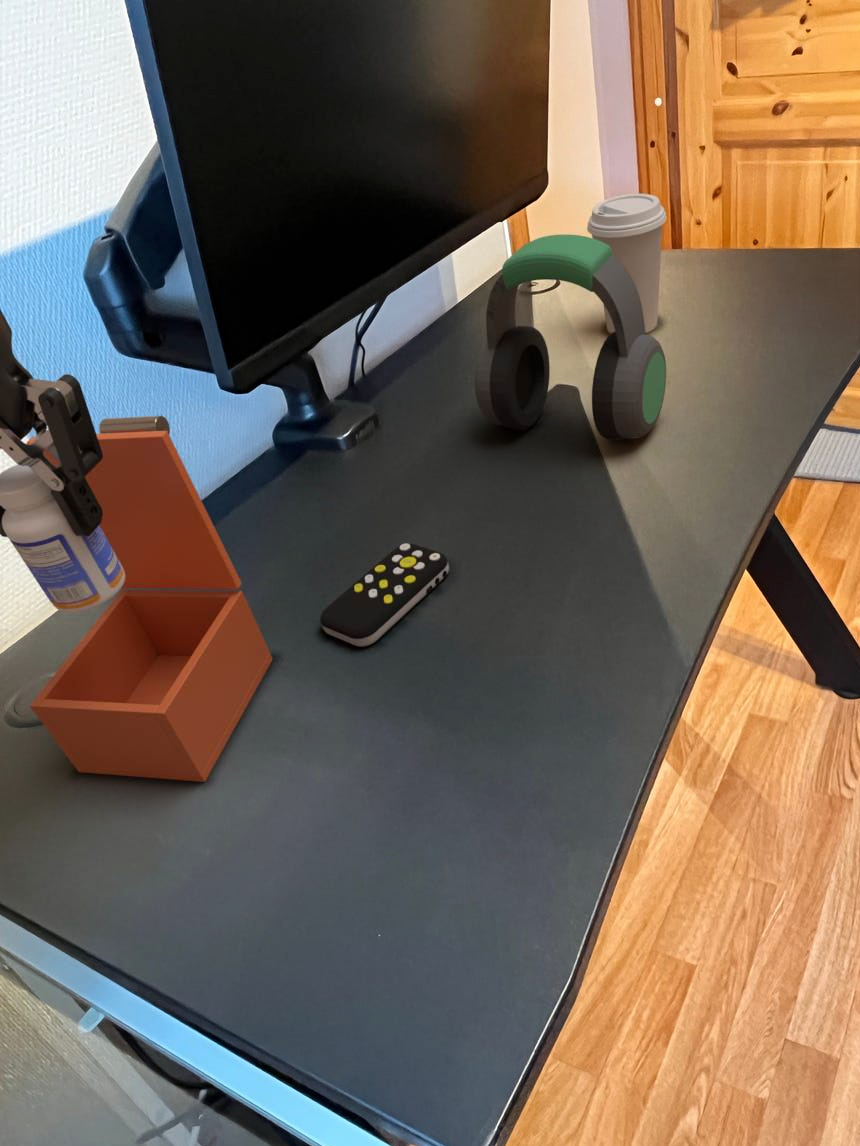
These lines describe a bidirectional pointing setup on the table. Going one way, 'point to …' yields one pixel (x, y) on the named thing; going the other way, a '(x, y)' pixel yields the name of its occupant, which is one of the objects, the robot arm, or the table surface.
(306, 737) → the table surface
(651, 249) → the coffee cup
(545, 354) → the headphones
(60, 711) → the orange lidded box
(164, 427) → the box lid
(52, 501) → the pill bottle
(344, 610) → the remote control
